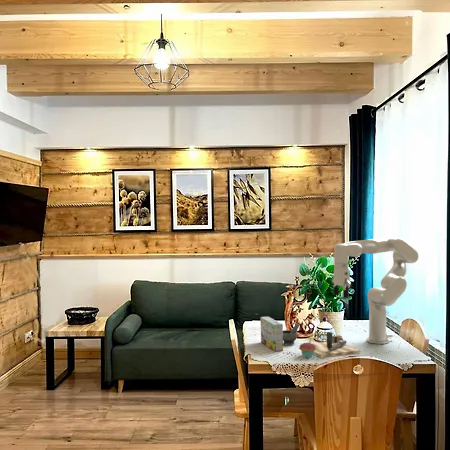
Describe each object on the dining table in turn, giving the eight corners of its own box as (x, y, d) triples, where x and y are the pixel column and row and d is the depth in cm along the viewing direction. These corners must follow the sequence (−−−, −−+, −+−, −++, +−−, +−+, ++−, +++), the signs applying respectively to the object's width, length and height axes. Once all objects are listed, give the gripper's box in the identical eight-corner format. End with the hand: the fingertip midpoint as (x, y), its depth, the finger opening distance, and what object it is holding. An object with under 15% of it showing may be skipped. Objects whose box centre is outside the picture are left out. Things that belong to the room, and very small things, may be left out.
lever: (342, 342, 298) (342, 325, 298) (347, 343, 296) (347, 326, 296) (325, 350, 282) (325, 332, 281) (330, 351, 280) (330, 333, 280)
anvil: (339, 340, 305) (339, 335, 305) (341, 341, 303) (341, 336, 303) (332, 341, 303) (332, 336, 303) (334, 342, 301) (334, 336, 301)
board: (336, 343, 305) (336, 340, 305) (359, 353, 285) (359, 349, 284) (300, 347, 296) (300, 344, 296) (320, 357, 276) (320, 354, 276)
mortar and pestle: (280, 346, 300) (280, 325, 299) (279, 341, 309) (279, 321, 309) (300, 346, 299) (300, 325, 299) (298, 342, 309) (298, 321, 308)
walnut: (340, 341, 303) (340, 335, 302) (344, 343, 299) (344, 337, 299) (335, 342, 301) (335, 336, 301) (338, 343, 298) (338, 337, 298)
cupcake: (313, 354, 283) (314, 331, 283) (317, 358, 274) (317, 335, 274) (297, 354, 283) (298, 331, 282) (300, 358, 274) (300, 335, 274)
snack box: (259, 342, 308) (259, 316, 307) (268, 341, 310) (268, 316, 309) (274, 351, 288) (274, 324, 287) (283, 351, 289) (283, 323, 289)
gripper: (355, 266, 292) (355, 297, 293) (338, 264, 308) (338, 293, 309) (344, 267, 290) (344, 298, 290) (327, 264, 306) (327, 294, 306)
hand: (341, 295), depth 299 cm, fingers open, 9 cm apart
